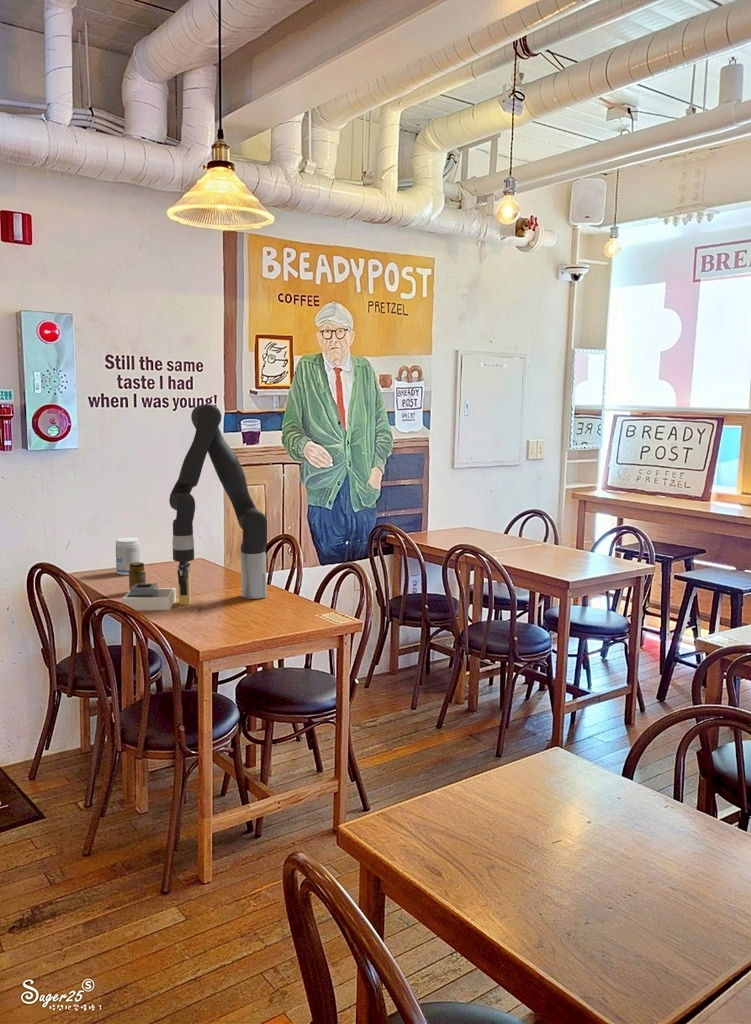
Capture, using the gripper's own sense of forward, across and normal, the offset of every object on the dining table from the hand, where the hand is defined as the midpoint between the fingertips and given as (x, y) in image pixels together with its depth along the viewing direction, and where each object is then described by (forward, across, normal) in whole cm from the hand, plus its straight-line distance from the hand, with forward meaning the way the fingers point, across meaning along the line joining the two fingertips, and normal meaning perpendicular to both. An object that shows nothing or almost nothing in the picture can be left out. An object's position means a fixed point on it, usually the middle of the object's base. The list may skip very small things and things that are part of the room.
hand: (184, 593), depth 294 cm
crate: (+4, -2, +12) cm, 13 cm away
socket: (+4, -2, +14) cm, 15 cm away
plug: (+4, 0, 0) cm, 4 cm away
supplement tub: (+4, +53, +32) cm, 62 cm away
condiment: (+4, +16, +20) cm, 26 cm away
